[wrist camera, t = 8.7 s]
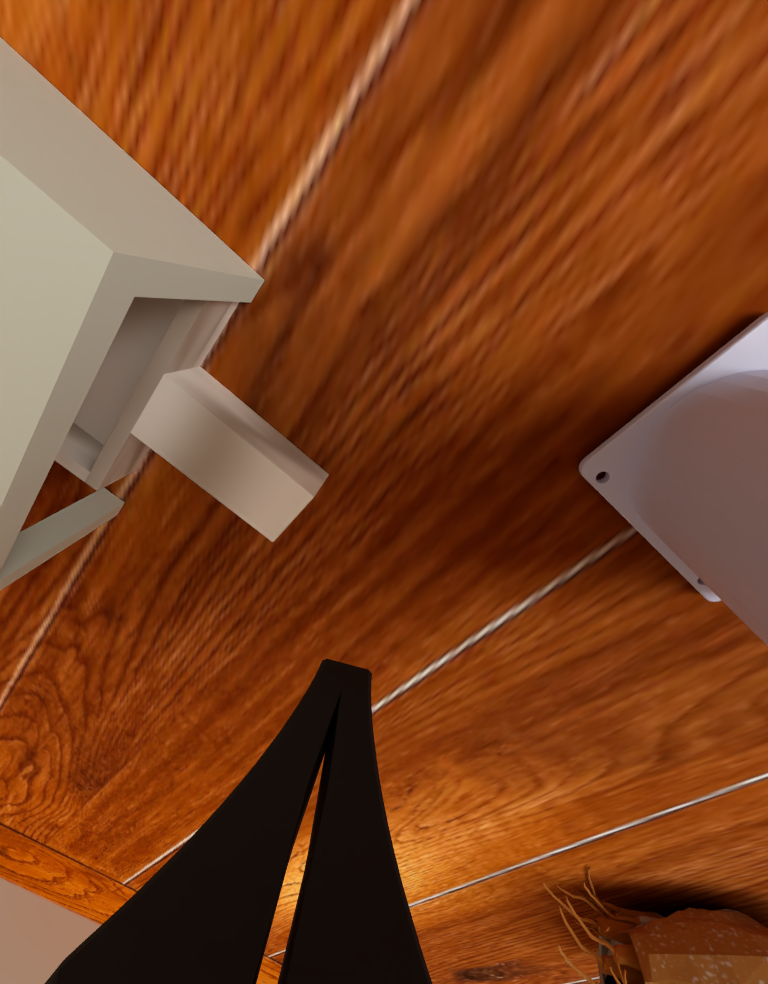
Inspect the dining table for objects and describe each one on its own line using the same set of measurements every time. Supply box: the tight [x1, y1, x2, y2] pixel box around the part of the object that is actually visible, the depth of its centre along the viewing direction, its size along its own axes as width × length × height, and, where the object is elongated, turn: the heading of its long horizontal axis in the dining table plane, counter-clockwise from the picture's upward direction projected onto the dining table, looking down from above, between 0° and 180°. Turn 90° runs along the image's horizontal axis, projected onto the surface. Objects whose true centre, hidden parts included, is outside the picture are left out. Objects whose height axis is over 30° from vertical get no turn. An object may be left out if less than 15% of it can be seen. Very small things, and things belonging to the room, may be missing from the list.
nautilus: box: [543, 867, 768, 984], centre depth 26 cm, size 8×22×15 cm
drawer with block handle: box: [55, 297, 329, 542], centre depth 16 cm, size 17×10×2 cm, turn 49°
